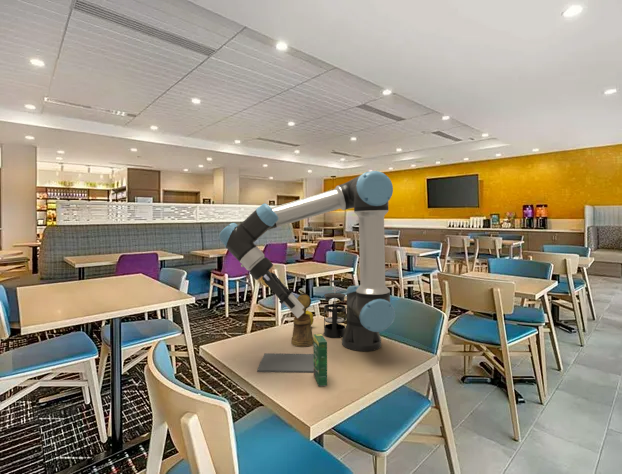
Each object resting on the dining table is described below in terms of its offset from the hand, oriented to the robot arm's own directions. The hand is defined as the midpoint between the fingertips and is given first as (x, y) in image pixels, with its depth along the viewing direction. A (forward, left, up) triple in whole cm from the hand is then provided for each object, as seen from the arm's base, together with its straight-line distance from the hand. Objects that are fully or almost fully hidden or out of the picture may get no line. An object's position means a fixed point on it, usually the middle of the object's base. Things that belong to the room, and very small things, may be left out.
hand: (301, 312), depth 111 cm
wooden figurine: (+1, -26, -19) cm, 32 cm away
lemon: (0, -43, -19) cm, 47 cm away
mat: (+5, -4, -19) cm, 20 cm away
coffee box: (-6, +8, -19) cm, 21 cm away
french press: (-12, -35, -19) cm, 42 cm away
